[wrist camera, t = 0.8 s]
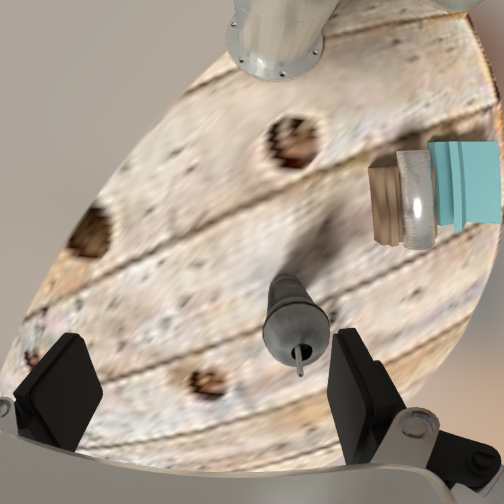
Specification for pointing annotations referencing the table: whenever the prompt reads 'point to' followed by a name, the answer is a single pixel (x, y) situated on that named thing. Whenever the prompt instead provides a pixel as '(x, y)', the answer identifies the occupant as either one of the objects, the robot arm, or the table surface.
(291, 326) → the beverage cup
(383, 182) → the tan stepped block
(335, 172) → the table surface
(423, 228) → the axle
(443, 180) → the v block
